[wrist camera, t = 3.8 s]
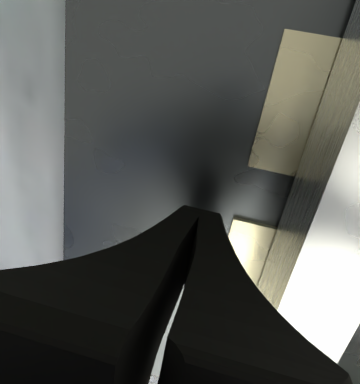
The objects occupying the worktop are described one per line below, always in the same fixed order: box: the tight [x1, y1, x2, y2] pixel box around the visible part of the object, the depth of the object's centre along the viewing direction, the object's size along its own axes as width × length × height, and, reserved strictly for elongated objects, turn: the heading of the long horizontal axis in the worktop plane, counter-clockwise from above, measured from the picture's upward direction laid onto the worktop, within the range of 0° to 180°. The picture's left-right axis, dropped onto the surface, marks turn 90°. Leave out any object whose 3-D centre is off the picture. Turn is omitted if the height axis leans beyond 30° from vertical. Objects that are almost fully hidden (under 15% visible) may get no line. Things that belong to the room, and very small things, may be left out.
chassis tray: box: [64, 0, 360, 384], centre depth 10 cm, size 18×19×5 cm
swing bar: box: [257, 0, 360, 363], centre depth 9 cm, size 2×16×3 cm, turn 171°
